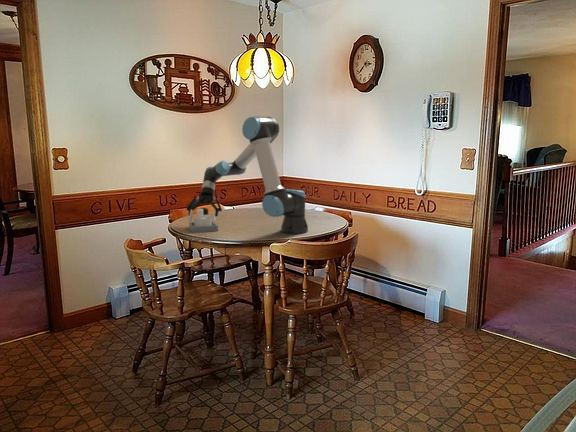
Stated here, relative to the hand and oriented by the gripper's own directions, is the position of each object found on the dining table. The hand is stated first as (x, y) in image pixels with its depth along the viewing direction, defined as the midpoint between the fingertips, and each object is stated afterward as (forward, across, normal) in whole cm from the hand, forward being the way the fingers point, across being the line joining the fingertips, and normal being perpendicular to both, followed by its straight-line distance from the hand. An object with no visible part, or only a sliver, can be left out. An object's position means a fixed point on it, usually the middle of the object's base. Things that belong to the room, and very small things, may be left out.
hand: (201, 220), depth 252 cm
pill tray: (+2, 0, -6) cm, 6 cm away
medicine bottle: (+2, 0, -6) cm, 6 cm away
